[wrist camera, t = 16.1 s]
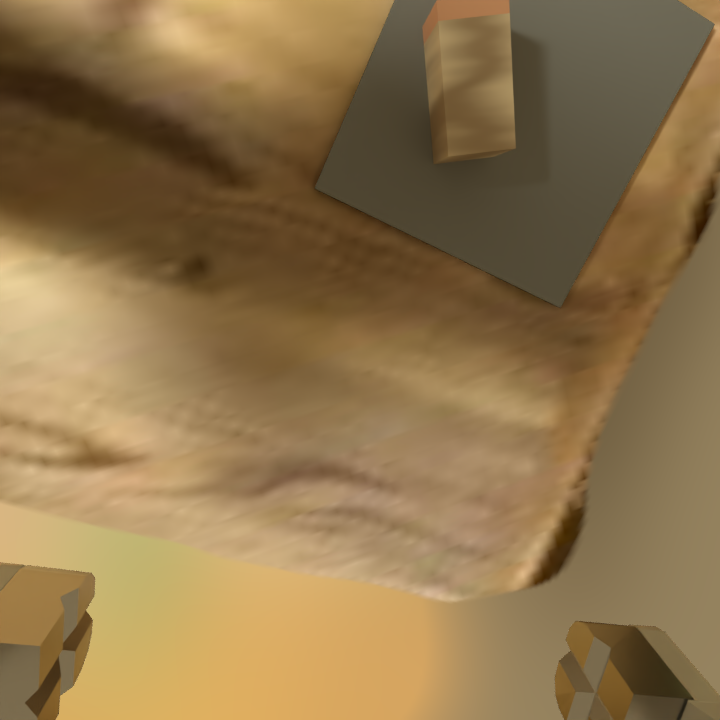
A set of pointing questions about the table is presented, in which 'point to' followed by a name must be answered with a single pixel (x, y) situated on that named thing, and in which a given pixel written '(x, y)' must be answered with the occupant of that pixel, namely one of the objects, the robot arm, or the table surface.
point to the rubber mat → (519, 135)
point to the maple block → (469, 79)
